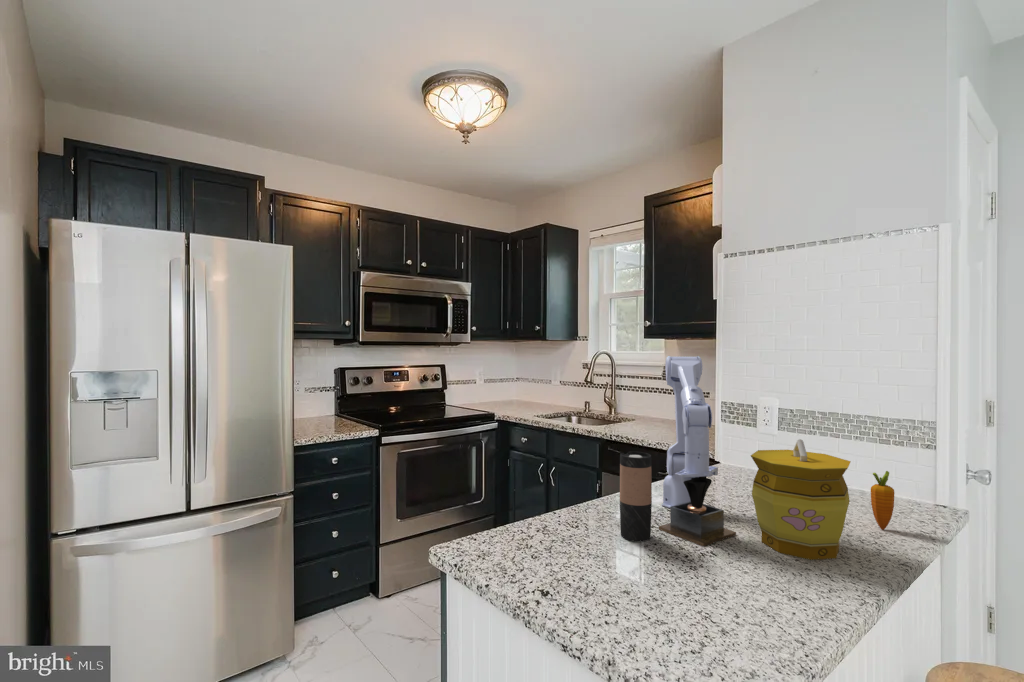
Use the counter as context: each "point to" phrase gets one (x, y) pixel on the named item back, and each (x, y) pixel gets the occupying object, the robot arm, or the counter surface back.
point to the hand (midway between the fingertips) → (696, 507)
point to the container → (800, 501)
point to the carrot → (882, 501)
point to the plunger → (696, 509)
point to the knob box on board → (697, 525)
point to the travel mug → (635, 496)
